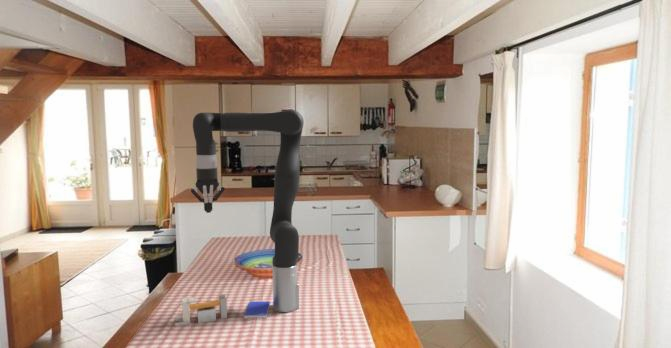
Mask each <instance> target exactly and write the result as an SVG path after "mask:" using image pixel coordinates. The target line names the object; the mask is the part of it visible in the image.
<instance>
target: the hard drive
mask: <svg viewBox="0 0 671 348" xmlns="http://www.w3.org/2000/svg"><path fill="white" fill-rule="evenodd" d="M270 306H271V301H250V302H248V305H247V307H246V310H245V312H244V315H243V318H245V319H247V318H248V319H256V318H257V319H258V318H260V319H263V318H265V319H266V318H267V317H268V313H269V309H270Z"/></svg>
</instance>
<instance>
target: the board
mask: <svg viewBox="0 0 671 348" xmlns="http://www.w3.org/2000/svg"><path fill="white" fill-rule="evenodd" d="M218 300H221V305H220V306H219V315H220V318H221V319H222V320H223V319H227V318H228V304H227V297H226V295H225V293H224V294H218ZM174 321H176V322H174V326H175V327H182V326H187V325H189V324H190V323H189V322H188V321H186V322H183V315H182V316H177V317H174ZM177 321H181V322H177Z"/></svg>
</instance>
